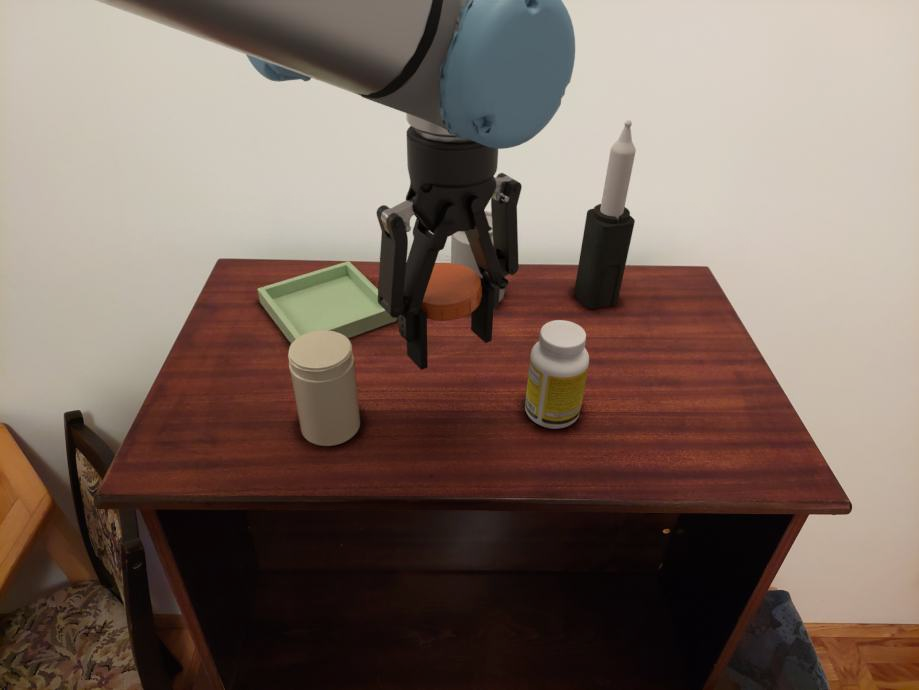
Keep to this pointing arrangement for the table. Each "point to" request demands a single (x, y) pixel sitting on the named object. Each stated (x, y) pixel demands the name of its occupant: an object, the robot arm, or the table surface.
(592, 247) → the candle
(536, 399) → the pill bottle
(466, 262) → the can
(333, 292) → the tray
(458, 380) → the table surface
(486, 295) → the robot arm
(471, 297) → the lid
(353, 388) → the jar
